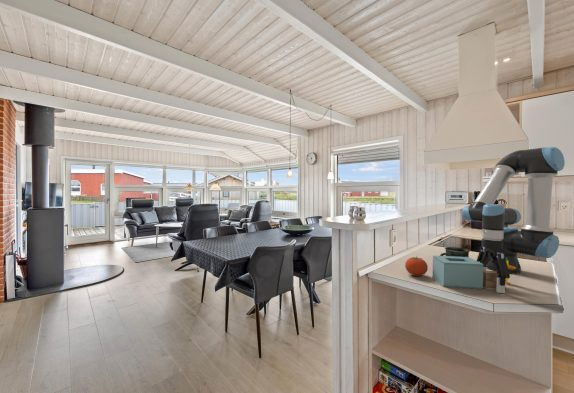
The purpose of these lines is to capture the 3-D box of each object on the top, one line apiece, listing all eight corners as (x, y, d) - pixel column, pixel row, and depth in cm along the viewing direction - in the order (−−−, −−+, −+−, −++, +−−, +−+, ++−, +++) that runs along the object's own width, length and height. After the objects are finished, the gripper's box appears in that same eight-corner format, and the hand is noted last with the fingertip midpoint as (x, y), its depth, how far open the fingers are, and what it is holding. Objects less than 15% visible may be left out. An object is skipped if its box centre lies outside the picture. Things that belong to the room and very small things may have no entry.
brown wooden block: (496, 286, 115) (496, 271, 115) (500, 289, 112) (501, 273, 112) (481, 285, 116) (482, 270, 116) (485, 288, 113) (486, 272, 113)
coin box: (467, 279, 124) (468, 257, 124) (482, 289, 112) (483, 264, 112) (432, 277, 126) (432, 255, 126) (443, 286, 115) (444, 262, 114)
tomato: (404, 271, 136) (404, 252, 136) (425, 273, 133) (425, 254, 132) (406, 277, 126) (406, 257, 126) (429, 280, 123) (429, 259, 123)
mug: (474, 275, 131) (475, 251, 130) (446, 275, 130) (447, 251, 130) (459, 268, 142) (460, 246, 141) (433, 268, 141) (434, 246, 141)
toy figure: (517, 285, 116) (518, 259, 116) (512, 286, 115) (513, 260, 115) (501, 280, 123) (501, 256, 122) (496, 281, 121) (496, 256, 121)
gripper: (468, 233, 126) (466, 276, 127) (501, 244, 102) (499, 297, 103) (484, 234, 125) (483, 277, 126) (522, 245, 101) (520, 298, 102)
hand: (490, 286), depth 114 cm, fingers open, 12 cm apart
